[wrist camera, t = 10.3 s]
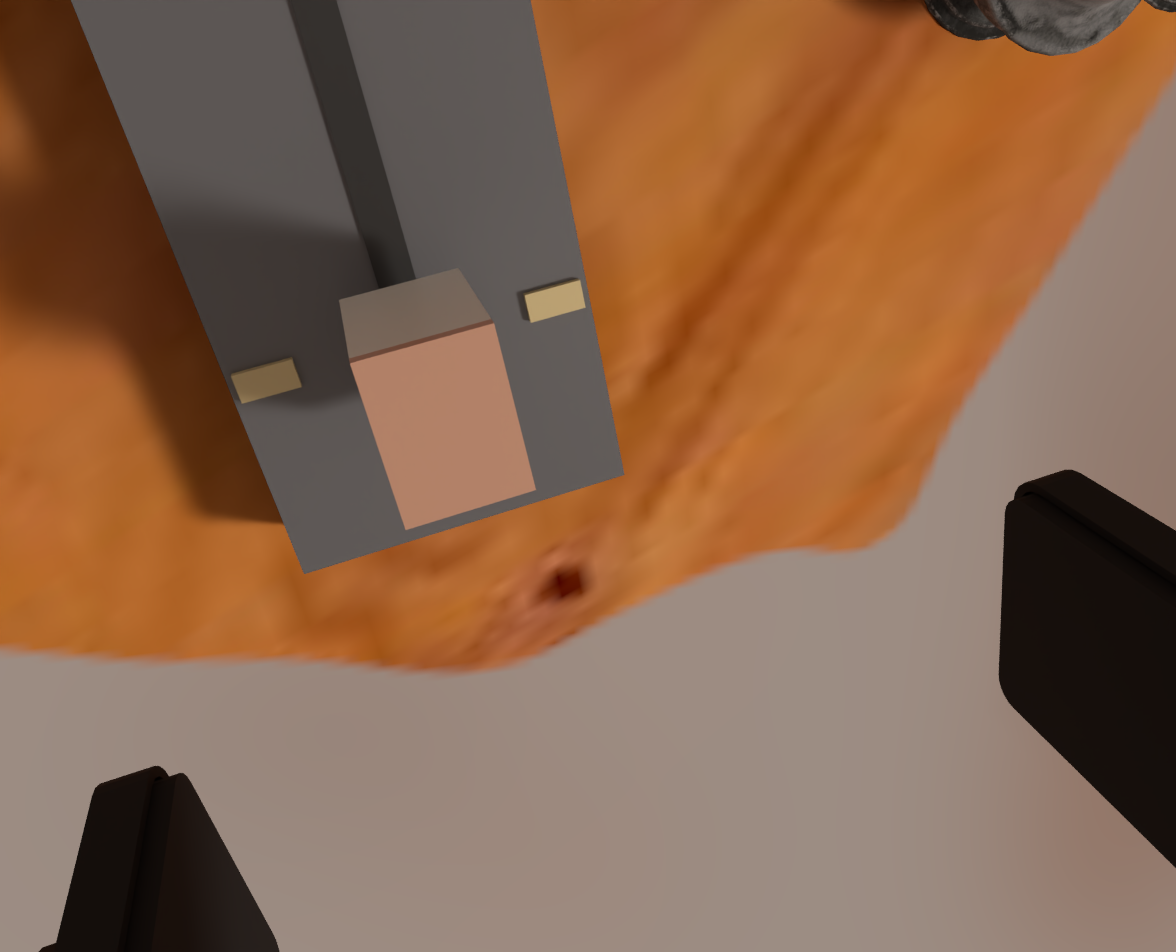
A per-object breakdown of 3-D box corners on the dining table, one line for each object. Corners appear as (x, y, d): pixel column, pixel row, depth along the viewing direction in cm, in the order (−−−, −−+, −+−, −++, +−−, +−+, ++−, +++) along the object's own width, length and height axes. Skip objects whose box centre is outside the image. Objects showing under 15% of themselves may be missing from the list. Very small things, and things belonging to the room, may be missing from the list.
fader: (336, 284, 25) (349, 363, 19) (449, 254, 25) (494, 322, 20) (381, 422, 26) (405, 530, 21) (486, 392, 27) (536, 489, 22)
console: (-146, -608, 18) (-224, -717, 16) (366, -667, 20) (379, -777, 17) (302, 526, 31) (304, 577, 28) (597, 437, 32) (626, 477, 29)
